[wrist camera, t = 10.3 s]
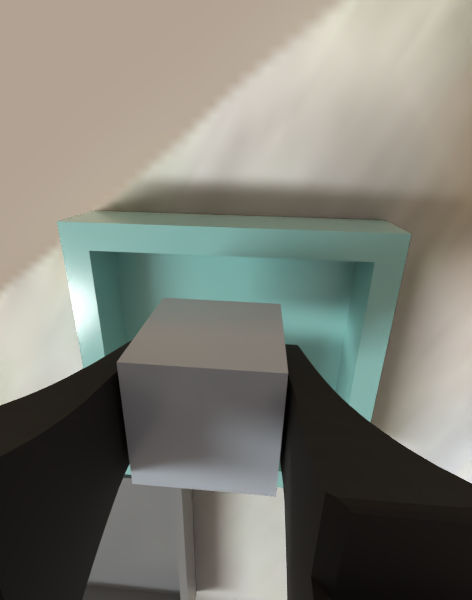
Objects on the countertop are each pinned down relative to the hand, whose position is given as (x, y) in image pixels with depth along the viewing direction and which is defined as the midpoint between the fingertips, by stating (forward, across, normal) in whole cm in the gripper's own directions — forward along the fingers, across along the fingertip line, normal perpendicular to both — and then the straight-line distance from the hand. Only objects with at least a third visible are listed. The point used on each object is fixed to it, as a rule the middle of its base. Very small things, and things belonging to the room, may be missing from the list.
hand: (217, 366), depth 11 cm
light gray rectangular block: (+1, 0, 0) cm, 1 cm away
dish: (+6, 0, +2) cm, 6 cm away
